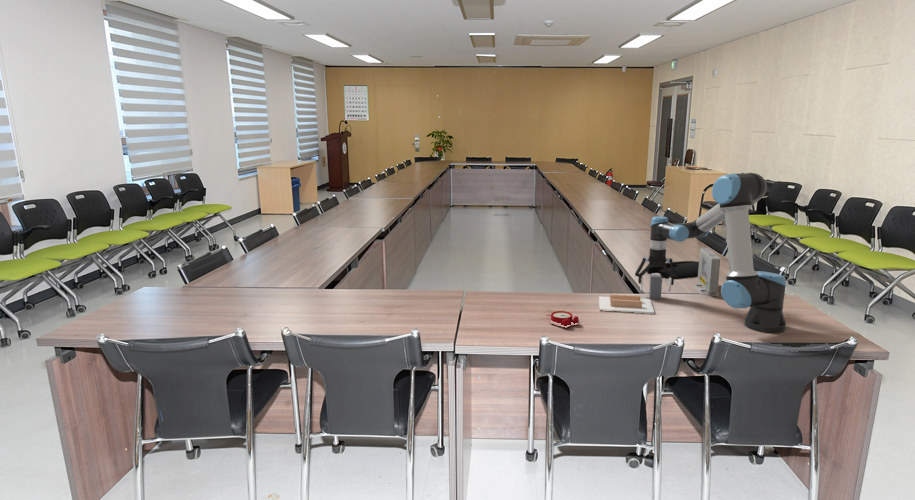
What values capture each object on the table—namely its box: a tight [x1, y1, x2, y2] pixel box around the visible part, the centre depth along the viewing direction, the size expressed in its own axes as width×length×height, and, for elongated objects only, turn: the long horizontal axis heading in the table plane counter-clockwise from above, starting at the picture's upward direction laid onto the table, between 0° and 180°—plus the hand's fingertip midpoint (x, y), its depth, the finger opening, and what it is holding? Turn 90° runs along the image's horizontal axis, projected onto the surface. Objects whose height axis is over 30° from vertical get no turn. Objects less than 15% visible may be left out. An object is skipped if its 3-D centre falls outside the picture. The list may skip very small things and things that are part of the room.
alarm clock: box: [545, 310, 581, 327], centre depth 235 cm, size 10×6×15 cm
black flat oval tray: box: [646, 260, 699, 280], centre depth 316 cm, size 25×40×5 cm, turn 112°
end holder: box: [598, 293, 655, 315], centre depth 257 cm, size 20×24×4 cm
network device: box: [693, 247, 721, 297], centre depth 278 cm, size 26×9×20 cm, turn 168°
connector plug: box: [648, 273, 663, 300], centre depth 268 cm, size 5×5×12 cm
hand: (655, 290), depth 268 cm, fingers open, 12 cm apart
